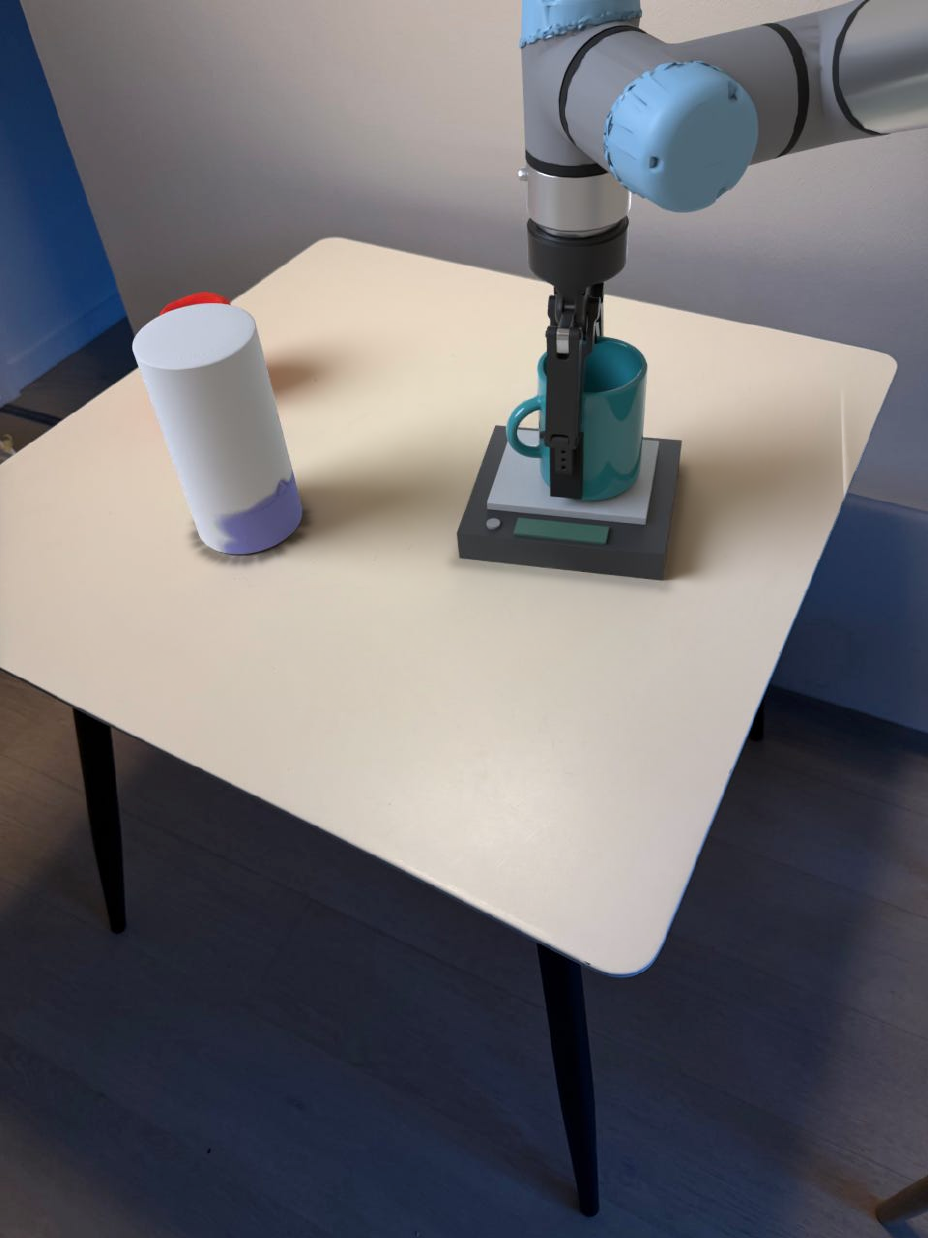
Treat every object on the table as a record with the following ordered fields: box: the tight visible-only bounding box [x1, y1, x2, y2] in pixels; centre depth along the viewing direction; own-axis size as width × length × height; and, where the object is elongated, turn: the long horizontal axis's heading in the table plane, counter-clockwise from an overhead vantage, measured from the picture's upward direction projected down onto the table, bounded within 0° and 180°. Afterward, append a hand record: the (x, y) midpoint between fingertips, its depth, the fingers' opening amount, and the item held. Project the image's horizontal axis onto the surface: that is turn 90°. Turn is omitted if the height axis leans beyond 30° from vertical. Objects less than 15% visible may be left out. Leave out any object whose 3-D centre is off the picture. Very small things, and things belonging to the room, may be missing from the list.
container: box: [131, 303, 303, 555], centre depth 87 cm, size 10×10×20 cm
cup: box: [505, 335, 649, 501], centre depth 85 cm, size 9×12×11 cm
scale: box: [456, 424, 683, 581], centre depth 91 cm, size 18×16×4 cm
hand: (575, 460), depth 89 cm, fingers closed on cup, 9 cm apart
